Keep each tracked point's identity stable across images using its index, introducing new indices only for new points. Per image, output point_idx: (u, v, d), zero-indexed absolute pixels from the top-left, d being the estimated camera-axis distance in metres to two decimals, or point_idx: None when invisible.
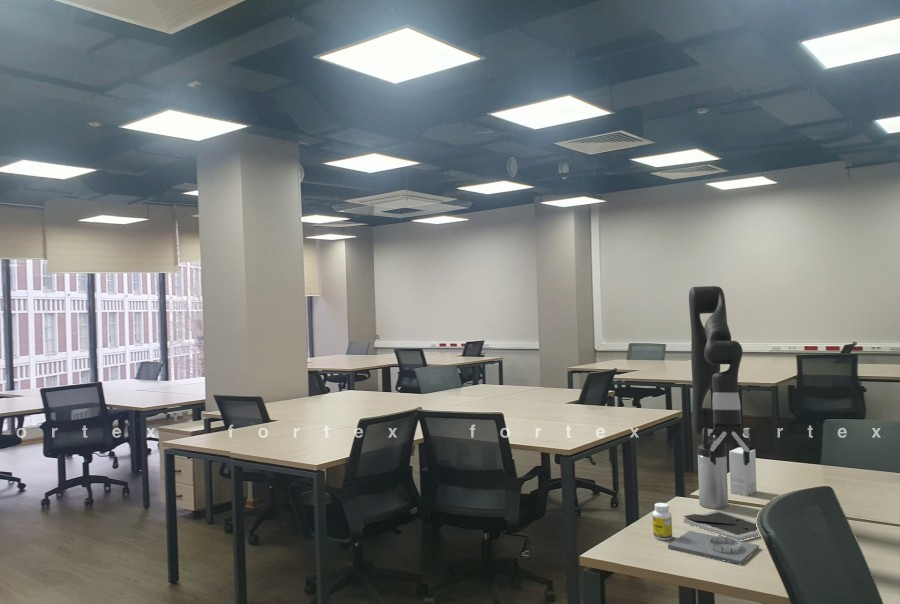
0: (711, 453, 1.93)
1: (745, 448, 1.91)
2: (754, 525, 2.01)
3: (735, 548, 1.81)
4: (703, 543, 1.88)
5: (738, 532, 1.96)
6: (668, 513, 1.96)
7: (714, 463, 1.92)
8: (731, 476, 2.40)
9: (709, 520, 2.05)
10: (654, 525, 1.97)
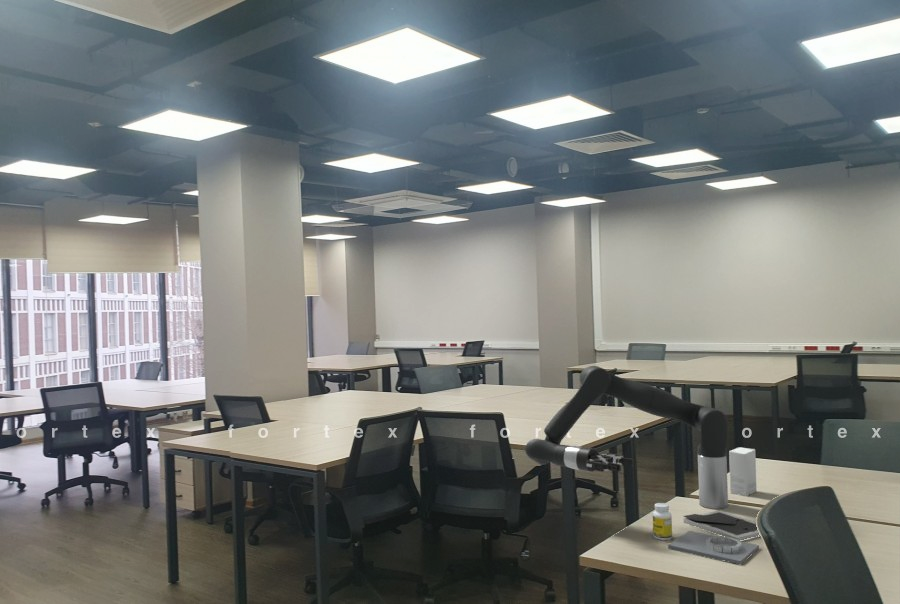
0: None
1: None
2: (754, 525, 2.01)
3: (735, 548, 1.81)
4: (703, 543, 1.88)
5: (738, 532, 1.96)
6: (668, 513, 1.96)
7: (632, 465, 2.08)
8: (731, 476, 2.40)
9: (709, 520, 2.05)
10: (654, 526, 1.97)
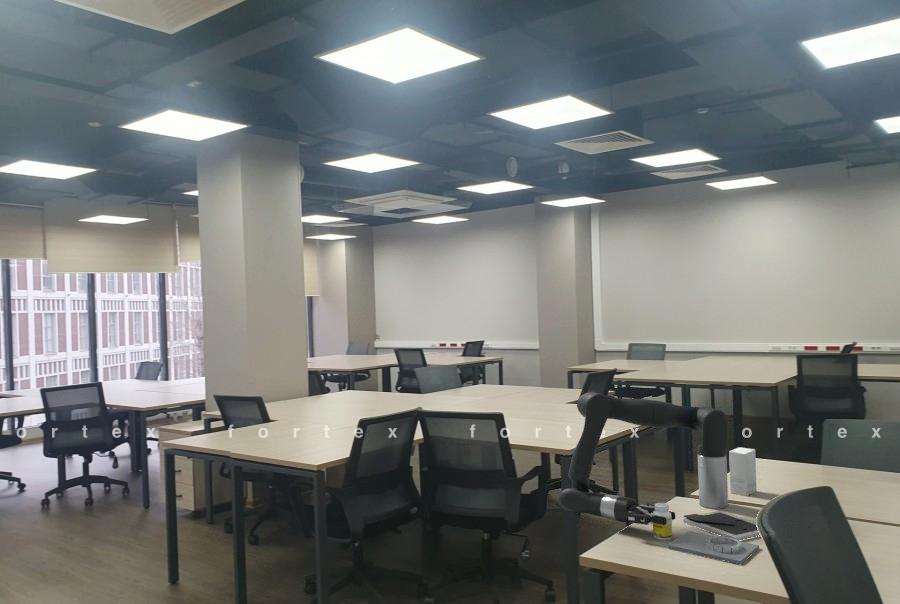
0: None
1: None
2: (753, 526, 2.01)
3: (735, 548, 1.81)
4: (703, 543, 1.88)
5: (736, 532, 1.96)
6: (668, 513, 1.96)
7: (673, 519, 1.98)
8: (731, 476, 2.40)
9: (708, 520, 2.05)
10: (654, 525, 1.97)
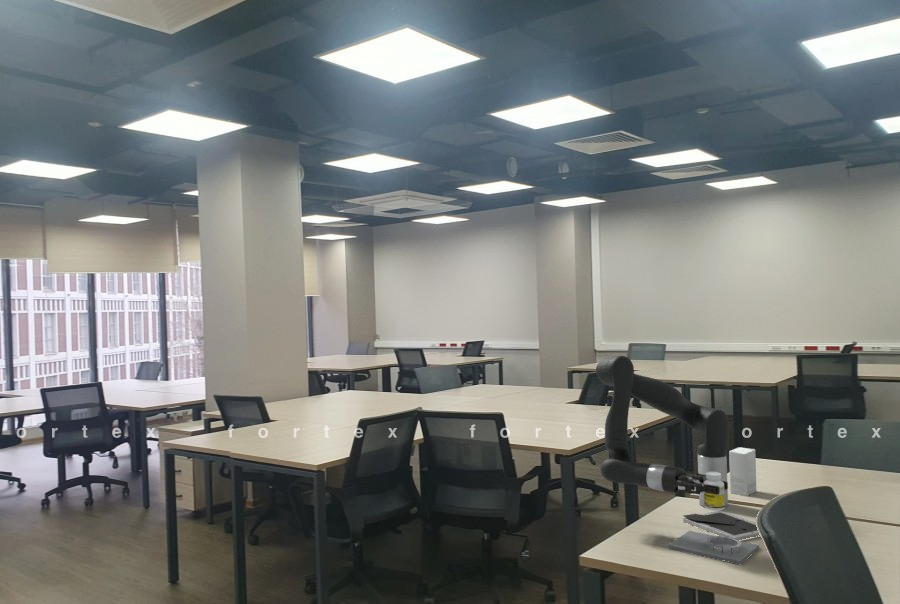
0: None
1: None
2: (753, 526, 2.00)
3: (735, 548, 1.81)
4: (703, 543, 1.88)
5: (735, 532, 1.96)
6: (721, 482, 1.85)
7: None
8: (731, 476, 2.40)
9: (708, 520, 2.05)
10: (705, 495, 1.86)
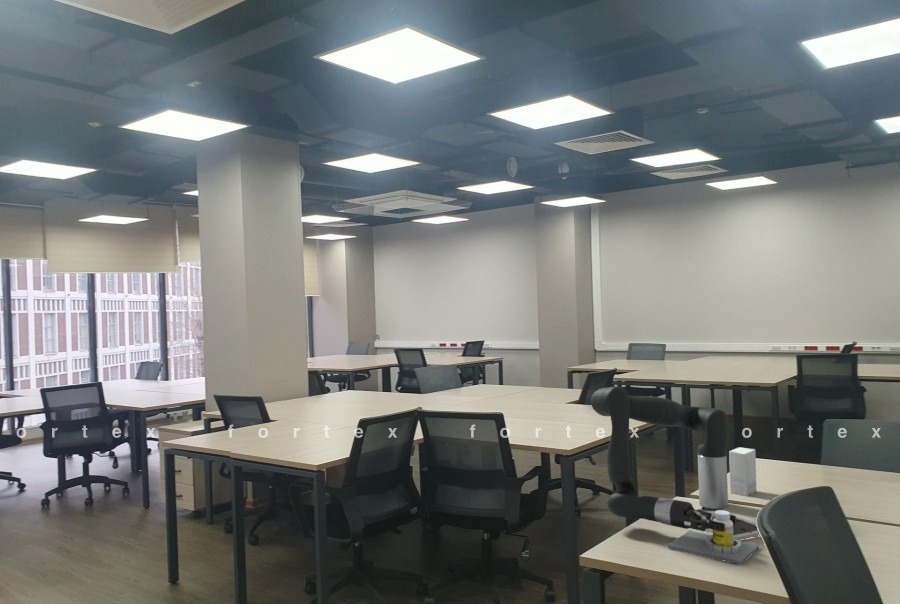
0: None
1: None
2: (753, 526, 2.00)
3: (735, 548, 1.81)
4: (703, 543, 1.88)
5: (734, 532, 1.96)
6: (729, 521, 1.84)
7: None
8: (731, 476, 2.40)
9: None
10: (714, 535, 1.85)
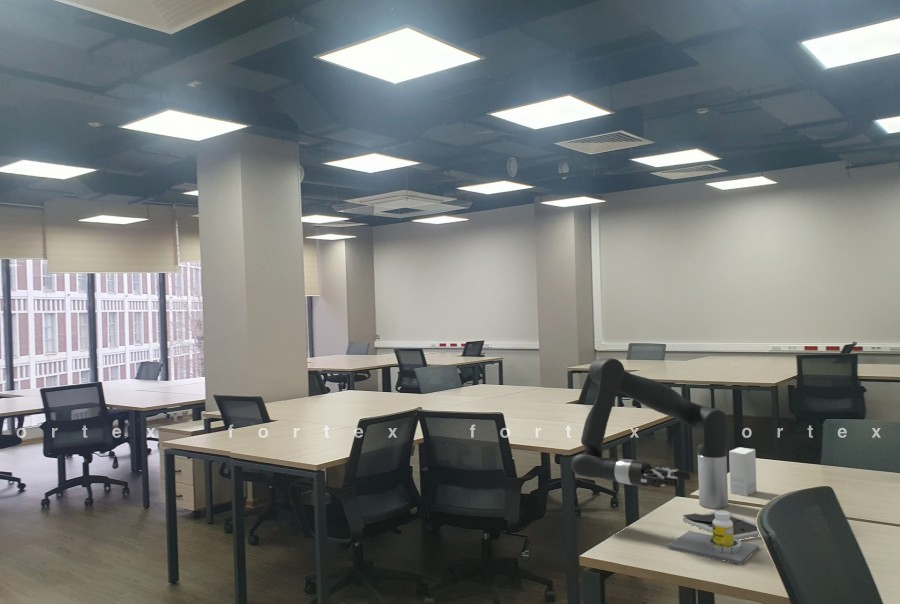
0: None
1: None
2: (752, 526, 2.00)
3: (735, 548, 1.81)
4: (703, 543, 1.88)
5: (733, 532, 1.96)
6: (729, 521, 1.84)
7: None
8: (731, 476, 2.40)
9: (707, 520, 2.06)
10: (714, 535, 1.85)
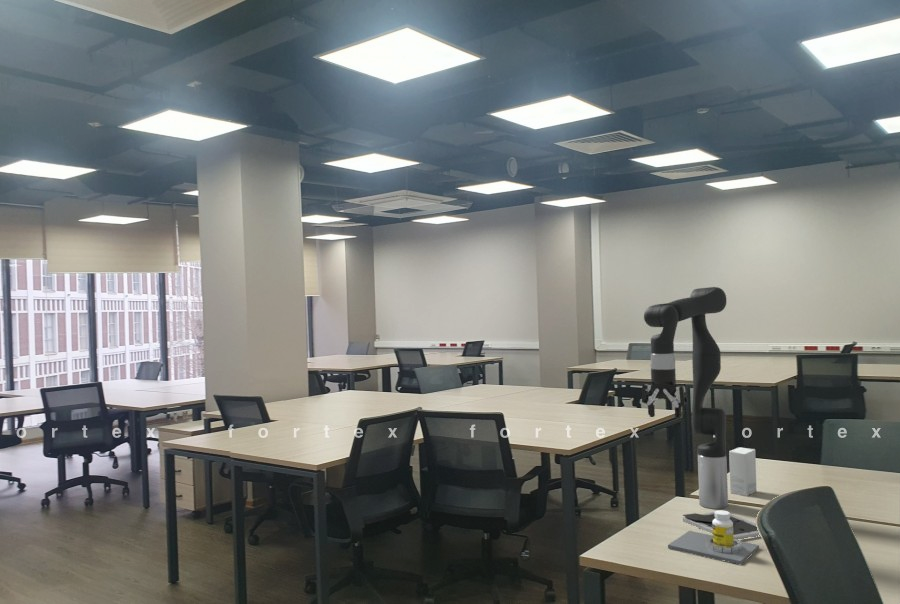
0: (649, 407, 2.15)
1: (675, 404, 2.08)
2: (752, 526, 2.00)
3: (735, 548, 1.81)
4: (703, 543, 1.88)
5: None
6: (729, 521, 1.84)
7: (650, 416, 2.14)
8: (731, 476, 2.40)
9: (707, 520, 2.06)
10: (714, 535, 1.85)
